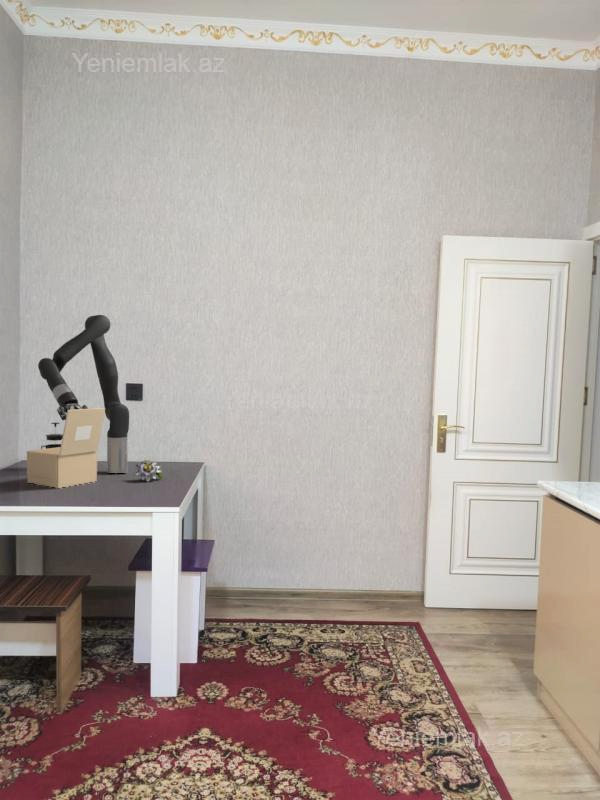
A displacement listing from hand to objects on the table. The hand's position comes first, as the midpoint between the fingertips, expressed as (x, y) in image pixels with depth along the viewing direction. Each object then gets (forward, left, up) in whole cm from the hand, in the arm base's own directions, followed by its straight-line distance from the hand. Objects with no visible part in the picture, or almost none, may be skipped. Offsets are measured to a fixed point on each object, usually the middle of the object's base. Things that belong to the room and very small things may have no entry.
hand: (82, 425), depth 274 cm
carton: (+9, -9, -26) cm, 29 cm away
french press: (+17, -46, -26) cm, 56 cm away
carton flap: (0, 0, -2) cm, 2 cm away
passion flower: (-27, -10, -26) cm, 39 cm away
